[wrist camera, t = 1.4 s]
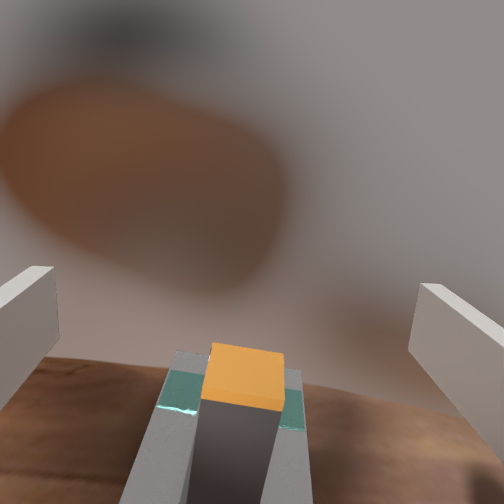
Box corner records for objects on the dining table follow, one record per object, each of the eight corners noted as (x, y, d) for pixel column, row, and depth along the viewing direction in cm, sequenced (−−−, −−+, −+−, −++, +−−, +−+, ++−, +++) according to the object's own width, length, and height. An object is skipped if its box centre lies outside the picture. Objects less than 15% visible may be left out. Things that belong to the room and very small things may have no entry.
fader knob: (247, 552, 26) (284, 400, 21) (181, 541, 26) (202, 386, 21) (251, 494, 30) (283, 353, 25) (192, 485, 30) (213, 342, 25)
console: (318, 666, 24) (332, 634, 22) (79, 629, 23) (79, 594, 22) (297, 384, 46) (303, 360, 44) (174, 364, 46) (177, 339, 44)
